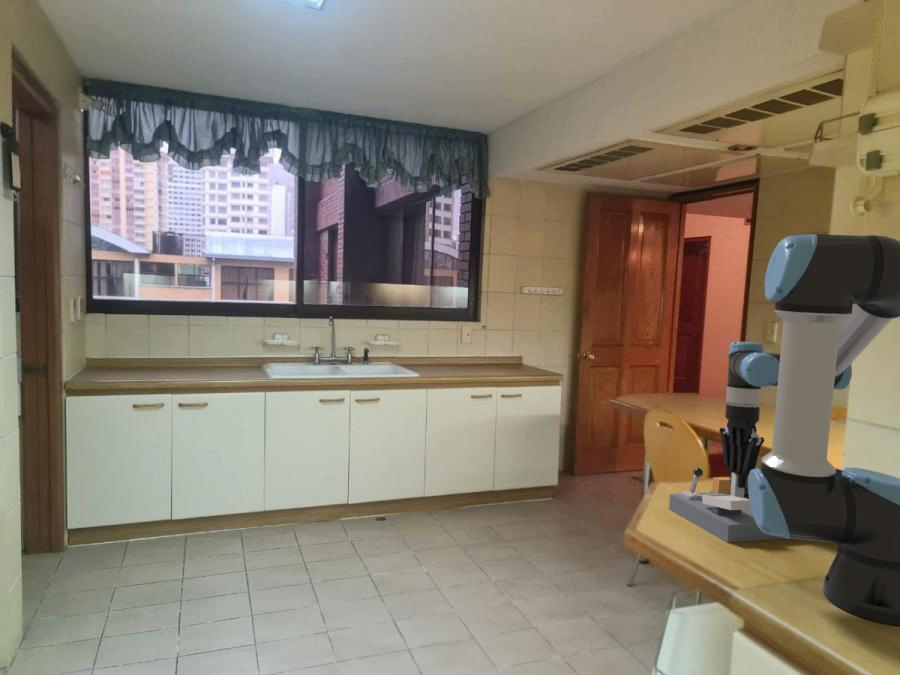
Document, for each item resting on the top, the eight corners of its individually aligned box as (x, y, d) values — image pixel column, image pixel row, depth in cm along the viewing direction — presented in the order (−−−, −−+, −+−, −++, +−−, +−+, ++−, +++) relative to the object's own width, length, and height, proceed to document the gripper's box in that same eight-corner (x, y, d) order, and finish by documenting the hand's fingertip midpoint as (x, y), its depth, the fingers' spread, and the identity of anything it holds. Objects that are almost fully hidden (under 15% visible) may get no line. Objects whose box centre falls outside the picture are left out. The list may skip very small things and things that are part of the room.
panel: (795, 538, 137) (796, 514, 137) (727, 542, 133) (729, 518, 133) (728, 506, 159) (730, 485, 158) (668, 508, 155) (669, 487, 154)
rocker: (753, 509, 136) (753, 499, 137) (731, 510, 135) (730, 500, 135) (724, 502, 146) (723, 493, 146) (702, 503, 145) (702, 494, 145)
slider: (731, 495, 153) (732, 479, 153) (718, 495, 153) (719, 480, 152) (725, 492, 156) (726, 477, 156) (712, 492, 155) (713, 477, 155)
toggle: (697, 495, 151) (705, 471, 148) (690, 495, 151) (698, 471, 148) (692, 489, 153) (700, 465, 150) (685, 490, 153) (693, 466, 150)
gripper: (775, 408, 142) (769, 507, 143) (737, 400, 155) (731, 490, 156) (749, 408, 140) (742, 508, 141) (712, 400, 153) (706, 491, 154)
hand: (737, 499), depth 148 cm, fingers closed
